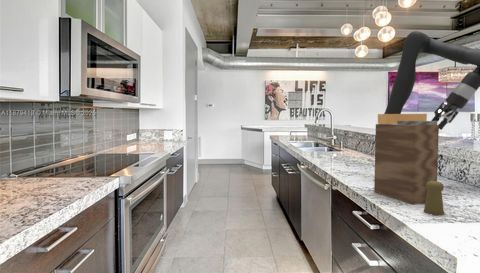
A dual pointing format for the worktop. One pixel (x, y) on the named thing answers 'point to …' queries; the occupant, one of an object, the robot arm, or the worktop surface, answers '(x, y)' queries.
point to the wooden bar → (400, 118)
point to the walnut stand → (406, 159)
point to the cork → (434, 198)
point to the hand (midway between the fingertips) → (435, 126)
